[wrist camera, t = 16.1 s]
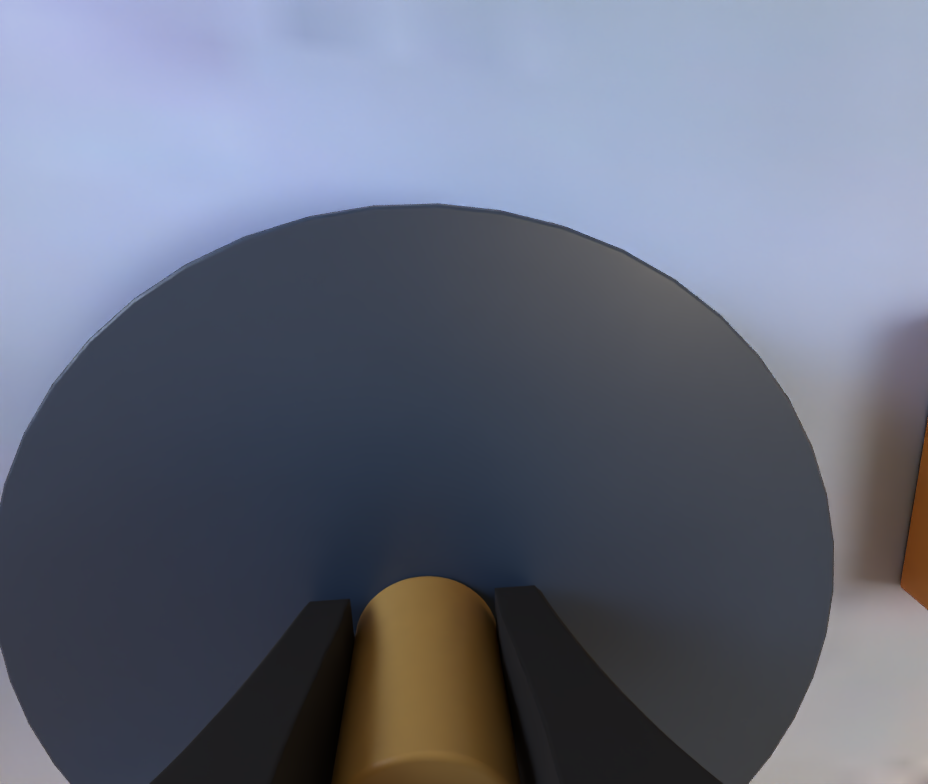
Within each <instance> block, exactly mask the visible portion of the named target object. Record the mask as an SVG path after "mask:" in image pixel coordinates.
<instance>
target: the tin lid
mask: <svg viewBox="0 0 928 784" xmlns="http://www.w3.org/2000/svg"><path fill="white" fill-rule="evenodd" d="M833 577H834V540H833V534H832V527H831V520H830V513H829V506H828V499H827V493H826V490H825V487H824V484H823V480H822V477H821V474H820V471H819V467H818V464H817V461H816V457H815V454H814V451H813V448H812V445H811V443H810V441H809V439H808V437H807V435H806V433H805V431H804V429H803V426H802V424H801V422H800V420H799V418H798V416H797V414H796V412H795V410H794V408H793V406H792V404H791V402H790V400H789V398H788V397H787V395H786V394H785V393H784V391H783V390H782V388H781V387H780V385H779V384H778V382H777V381H776V380H775V378H774V377H773V375H772V374H771V372H770V371H769V369H768V368H767V366H766V365H765V364H764V362H763V361H762V359H761V358H760V356H759V355H758V354H757V353H756V352H755V351H754V350H753V349H752V348H751V347H750V346H749V345H748V344H747V343H746V341H745V340H744V339H743V338H742V337H741V336H740V335H739V334H738V333H737V332H736V331H735V330H734V329H733V328H732V327H731V326H730V325H729V323H728V322H727V321H726V320H725V319H724V318H723V317H722V316H721V315H720V314H718V313H717V312H716V311H715V310H713V309H712V308H711V307H709V306H708V305H707V304H706V303H704V302H703V301H702V300H701V299H699V298H698V297H697V296H695V295H694V294H693V293H692V292H690V291H689V290H688V289H687V288H685V287H684V286H683V285H682V284H680V283H679V282H678V281H676V280H675V279H673V278H672V277H670V276H668V275H666V274H665V273H663V272H661V271H659V270H658V269H656V268H654V267H652V266H651V265H649V264H647V263H645V262H644V261H642V260H640V259H638V258H637V257H635V256H633V255H631V254H630V253H628V252H626V251H625V250H623V249H620V248H618V247H615V246H613V245H610V244H608V243H605V242H603V241H600V240H598V239H595V238H593V237H590V236H588V235H585V234H583V233H580V232H578V231H575V230H573V229H570V228H568V227H565V226H562V225H558V224H554V223H550V222H546V221H542V220H538V219H534V218H530V217H526V216H522V215H518V214H514V213H509V212H505V211H501V210H494V209H484V208H475V207H466V206H456V205H447V204H405V205H373V206H367V207H361V208H356V209H350V210H344V211H338V212H332V213H326V214H320V215H314V216H309V217H305V218H302V219H299V220H296V221H293V222H289V223H286V224H283V225H280V226H277V227H273V228H270V229H267V230H264V231H261V232H258V233H254V234H251V235H248V236H245V237H242V238H240V239H238V240H236V241H234V242H232V243H230V244H228V245H225V246H223V247H221V248H219V249H217V250H215V251H213V252H211V253H209V254H207V255H204V256H202V257H200V258H198V259H196V260H194V261H192V262H190V263H188V264H186V265H184V266H183V267H181V268H180V269H178V270H177V271H175V272H174V273H172V274H171V275H169V276H168V277H166V278H165V279H163V280H162V281H160V282H159V283H157V284H156V285H154V286H152V287H151V288H149V289H148V290H146V291H145V292H143V293H142V294H140V295H139V296H137V297H136V298H134V299H133V300H132V301H131V302H130V303H129V304H128V305H127V306H125V307H124V308H123V309H122V310H121V311H120V312H119V313H118V314H117V315H115V316H114V317H113V318H112V319H111V320H110V321H109V322H108V323H107V324H106V325H104V326H103V327H102V328H101V329H100V330H99V331H98V332H97V333H96V334H94V335H93V336H92V337H91V338H90V339H89V340H88V341H87V342H86V344H85V345H84V346H83V347H82V349H81V350H80V351H79V352H78V354H77V355H76V356H75V357H74V358H73V360H72V361H71V362H70V363H69V365H68V366H67V367H66V368H65V370H64V371H63V372H62V373H61V374H60V376H59V377H58V378H57V379H56V381H55V382H54V383H53V384H52V386H51V388H50V389H49V391H48V393H47V394H46V396H45V398H44V400H43V401H42V403H41V405H40V406H39V408H38V410H37V412H36V413H35V415H34V417H33V419H32V420H31V422H30V424H29V425H28V427H27V429H26V431H25V432H24V435H23V437H22V440H21V442H20V445H19V448H18V450H17V453H16V455H15V458H14V461H13V463H12V466H11V468H10V471H9V474H8V476H7V479H6V481H5V484H4V489H3V494H2V498H1V503H0V647H1V650H2V654H3V657H4V661H5V665H6V668H7V672H8V676H9V679H10V682H11V684H12V687H13V689H14V691H15V693H16V696H17V698H18V700H19V702H20V705H21V707H22V709H23V711H24V714H25V716H26V718H27V721H28V723H29V725H30V726H31V728H32V730H33V731H34V733H35V735H36V736H37V738H38V739H39V741H40V743H41V744H42V746H43V747H44V749H45V751H46V752H47V754H48V755H49V757H50V759H51V760H52V762H53V763H54V765H55V766H56V767H57V768H58V770H59V771H60V772H61V773H62V774H63V776H64V777H65V778H66V779H67V781H68V782H69V783H70V784H149V783H151V782H152V781H153V780H154V779H155V778H156V777H157V776H158V775H159V774H160V773H161V772H162V771H163V770H164V769H165V768H166V767H167V766H168V765H169V764H170V763H171V762H172V761H173V760H174V759H175V758H176V757H177V756H178V755H179V754H180V753H181V752H182V751H183V750H184V749H185V748H186V747H187V746H188V745H189V743H190V742H191V741H192V740H193V739H194V738H195V737H196V736H197V735H198V734H199V733H200V732H201V730H202V729H203V728H204V727H205V726H206V725H207V724H208V723H209V722H210V721H211V720H212V719H213V718H214V716H215V715H216V714H217V713H218V712H219V711H220V710H221V709H222V708H223V707H224V706H225V704H226V703H227V702H228V701H229V700H230V699H231V698H232V696H233V695H234V694H235V693H236V692H237V690H238V689H239V688H240V687H241V686H242V684H243V683H244V682H245V681H246V680H247V678H248V677H249V676H250V675H251V674H252V673H253V671H254V670H255V669H256V668H257V667H258V665H259V664H260V663H261V662H262V660H263V659H264V658H265V657H266V655H267V654H268V653H269V652H270V650H271V649H272V648H273V647H274V645H275V644H276V643H277V642H278V640H279V639H280V638H281V636H282V635H283V634H284V633H285V631H286V630H287V629H288V627H289V626H290V625H291V623H292V622H293V621H294V620H295V618H296V617H297V616H298V614H299V613H300V612H301V611H302V609H303V608H304V607H305V606H306V605H307V604H308V603H309V602H310V601H324V600H338V599H350V603H351V612H352V620H353V629H354V638H355V641H354V647H353V653H352V659H351V666H350V672H349V678H348V684H347V690H346V696H345V702H344V708H343V714H342V720H341V726H340V733H339V739H338V745H337V751H336V757H335V763H334V769H333V776H332V782H331V784H521V782H520V775H519V769H518V762H517V756H516V749H515V743H514V736H513V730H512V723H511V717H510V710H509V704H508V698H507V692H506V686H505V681H504V677H503V670H502V664H501V657H500V651H499V644H498V638H497V631H496V612H495V588H503V587H516V586H530V585H535V586H536V587H537V588H538V589H539V590H540V591H541V592H542V593H543V595H544V596H545V598H546V599H547V601H548V602H549V604H550V605H551V606H552V608H553V609H554V611H555V612H556V613H557V615H558V616H559V617H560V619H561V620H562V621H563V623H564V624H565V625H566V627H567V628H568V629H569V630H570V632H571V633H572V634H573V636H574V637H575V638H576V639H577V641H578V642H579V643H580V644H581V645H582V647H583V648H584V649H585V650H586V651H587V653H588V654H589V655H590V656H591V657H592V658H593V659H594V661H595V662H596V663H597V664H598V665H599V666H600V667H601V669H602V670H603V671H604V672H605V673H606V674H607V675H608V677H609V678H610V679H611V680H612V681H613V682H614V683H615V684H616V685H617V686H618V687H619V688H620V689H621V691H622V692H623V693H624V694H625V695H626V696H627V697H628V698H629V699H630V700H631V701H632V702H633V703H634V704H635V705H636V706H637V707H638V708H639V709H640V710H641V711H642V712H643V713H644V714H645V715H646V716H647V717H648V718H649V719H650V720H651V721H652V722H653V723H654V724H655V725H656V726H657V727H658V728H660V729H661V730H662V731H663V732H664V733H665V734H666V735H667V736H668V737H669V738H670V739H671V740H672V741H674V742H675V743H676V744H677V745H678V746H679V747H680V748H681V749H683V750H684V751H685V752H686V753H687V754H688V755H690V756H691V757H692V758H693V759H694V760H695V761H697V762H698V763H699V764H700V765H701V766H702V767H704V768H705V769H706V770H707V771H708V772H710V773H711V774H712V775H713V776H715V777H716V778H717V779H718V780H720V781H721V782H722V783H723V784H749V782H750V781H751V780H752V779H753V777H754V776H755V775H756V774H757V773H758V771H759V770H760V769H761V768H762V766H763V765H764V764H765V763H766V761H767V760H768V759H769V758H770V756H771V755H772V753H773V752H774V750H775V749H776V747H777V745H778V744H779V742H780V741H781V739H782V737H783V736H784V734H785V733H786V731H787V729H788V728H789V726H790V725H791V723H792V721H793V720H794V718H795V716H796V714H797V712H798V709H799V707H800V705H801V703H802V701H803V699H804V696H805V694H806V692H807V690H808V688H809V686H810V683H811V681H812V679H813V676H814V673H815V670H816V667H817V663H818V660H819V657H820V654H821V650H822V647H823V644H824V640H825V637H826V633H827V627H828V621H829V614H830V608H831V601H832V595H833Z"/></svg>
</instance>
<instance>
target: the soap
mask: <svg viewBox="0 0 928 784" xmlns="http://www.w3.org/2000/svg"><path fill="white" fill-rule="evenodd" d="M900 585H901V588H903V589H904V590H905V591H906V592H907V593H908V594H910V595H911V596H912V597H913V598H914V599H916V600H917V601H918V602H919V603H920V604H921V605H923V606H924V607H925V608H926V609H927V610H928V419H927V425H926V432H925V438H924V444H923V450H922V456H921V462H920V468H919V474H918V480H917V486H916V492H915V498H914V505H913V511H912V517H911V523H910V529H909V535H908V541H907V547H906V553H905V559H904V565H903V572H902V578H901V584H900Z"/></svg>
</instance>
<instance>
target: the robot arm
mask: <svg viewBox="0 0 928 784" xmlns="http://www.w3.org/2000/svg"><path fill="white" fill-rule="evenodd" d="M495 612H496V631H497V638H498V644H499V651H500V657H501V664H502V670H503V677H504V681H505V686H506V692H507V698H508V704H509V710H510V717H511V723H512V730H513V736H514V743H515V749H516V756H517V762H518V769H519V775H520V782H521V784H723V783H722V782H721V781H720V780H718V779H717V778H716V777H715V776H713V775H712V774H711V773H710V772H708V771H707V770H706V769H705V768H704V767H702V766H701V765H700V764H699V763H698V762H697V761H695V760H694V759H693V758H692V757H691V756H690V755H688V754H687V753H686V752H685V751H684V750H683V749H681V748H680V747H679V746H678V745H677V744H676V743H675V742H674V741H672V740H671V739H670V738H669V737H668V736H667V735H666V734H665V733H664V732H663V731H662V730H661V729H660V728H658V727H657V726H656V725H655V724H654V723H653V722H652V721H651V720H650V719H649V718H648V717H647V716H646V715H645V714H644V713H643V712H642V711H641V710H640V709H639V708H638V707H637V706H636V705H635V704H634V703H633V702H632V701H631V700H630V699H629V698H628V697H627V696H626V695H625V694H624V693H623V692H622V691H621V689H620V688H619V687H618V686H617V685H616V684H615V683H614V682H613V681H612V680H611V679H610V678H609V677H608V675H607V674H606V673H605V672H604V671H603V670H602V669H601V667H600V666H599V665H598V664H597V663H596V662H595V661H594V659H593V658H592V657H591V656H590V655H589V654H588V653H587V651H586V650H585V649H584V648H583V647H582V645H581V644H580V643H579V642H578V641H577V639H576V638H575V637H574V636H573V634H572V633H571V632H570V630H569V629H568V628H567V627H566V625H565V624H564V623H563V621H562V620H561V619H560V617H559V616H558V615H557V613H556V612H555V611H554V609H553V608H552V606H551V605H550V604H549V602H548V601H547V599H546V598H545V596H544V595H543V593H542V592H541V591H540V590H539V589H538V588H537V587H536V586H535V585H530V586H516V587H503V588H495ZM354 641H355V638H354V629H353V620H352V612H351V603H350V599H338V600H324V601H310V602H309V603H308V604H307V605H306V606H305V607H304V608H303V609H302V611H301V612H300V613H299V614H298V616H297V617H296V618H295V620H294V621H293V622H292V623H291V625H290V626H289V627H288V629H287V630H286V631H285V633H284V634H283V635H282V636H281V638H280V639H279V640H278V642H277V643H276V644H275V645H274V647H273V648H272V649H271V650H270V652H269V653H268V654H267V655H266V657H265V658H264V659H263V660H262V662H261V663H260V664H259V665H258V667H257V668H256V669H255V670H254V671H253V673H252V674H251V675H250V676H249V677H248V678H247V680H246V681H245V682H244V683H243V684H242V686H241V687H240V688H239V689H238V690H237V692H236V693H235V694H234V695H233V696H232V698H231V699H230V700H229V701H228V702H227V703H226V704H225V706H224V707H223V708H222V709H221V710H220V711H219V712H218V713H217V714H216V715H215V716H214V718H213V719H212V720H211V721H210V722H209V723H208V724H207V725H206V726H205V727H204V728H203V729H202V730H201V732H200V733H199V734H198V735H197V736H196V737H195V738H194V739H193V740H192V741H191V742H190V743H189V745H188V746H187V747H186V748H185V749H184V750H183V751H182V752H181V753H180V754H179V755H178V756H177V757H176V758H175V759H174V760H173V761H172V762H171V763H170V764H169V765H168V766H167V767H166V768H165V769H164V770H163V771H162V772H161V773H160V774H159V775H158V776H157V777H156V778H155V779H154V780H153V781H152V782H151V783H149V784H331V782H332V776H333V769H334V763H335V757H336V751H337V745H338V739H339V733H340V726H341V720H342V714H343V708H344V702H345V696H346V690H347V684H348V678H349V672H350V666H351V659H352V653H353V647H354Z"/></svg>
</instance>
